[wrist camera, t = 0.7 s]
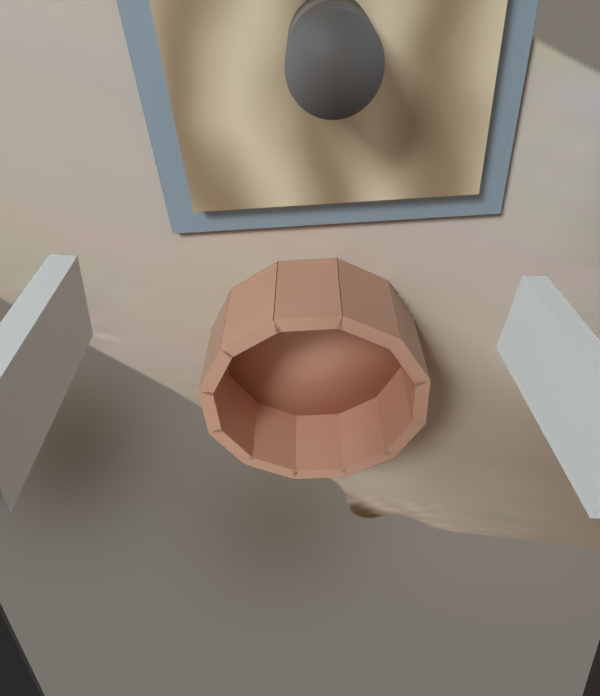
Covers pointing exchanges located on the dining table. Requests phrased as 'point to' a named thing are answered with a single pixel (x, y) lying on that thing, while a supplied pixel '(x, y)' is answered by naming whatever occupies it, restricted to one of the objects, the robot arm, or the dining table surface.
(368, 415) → the terracotta bowl
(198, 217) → the slate mat
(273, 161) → the oak lid
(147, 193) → the dining table surface
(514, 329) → the robot arm
